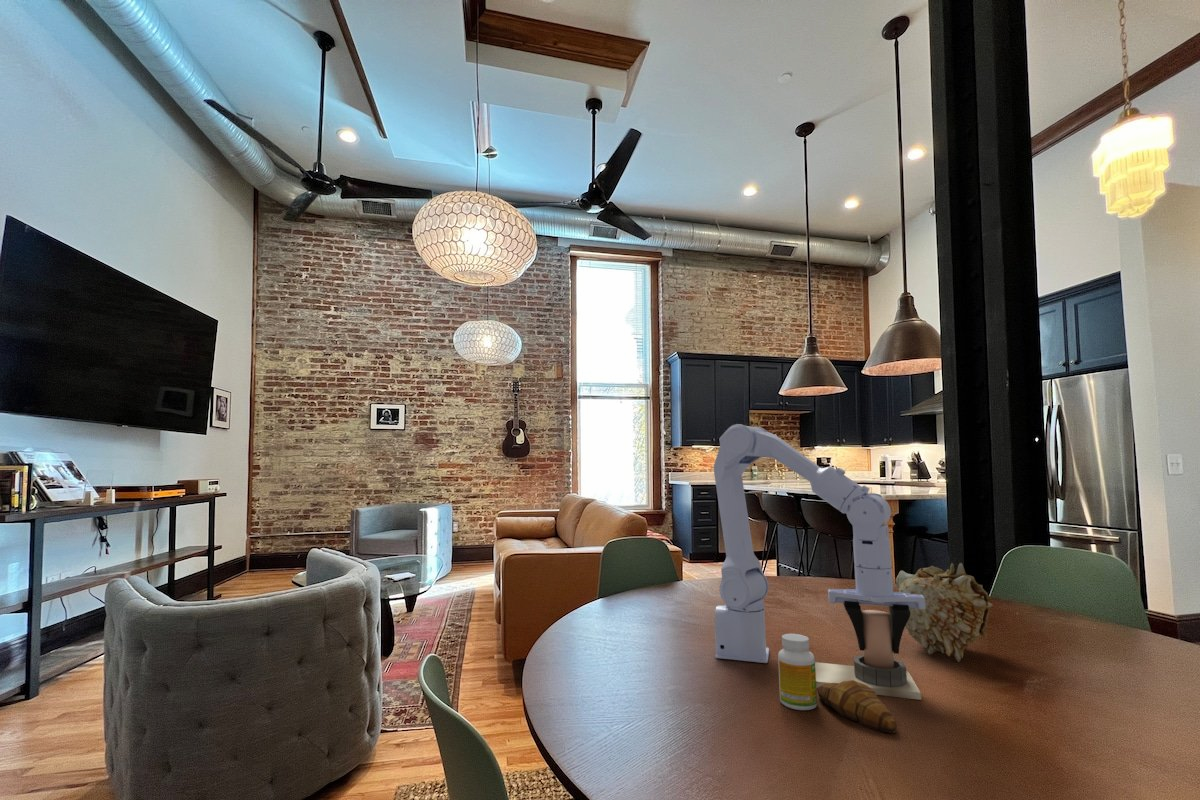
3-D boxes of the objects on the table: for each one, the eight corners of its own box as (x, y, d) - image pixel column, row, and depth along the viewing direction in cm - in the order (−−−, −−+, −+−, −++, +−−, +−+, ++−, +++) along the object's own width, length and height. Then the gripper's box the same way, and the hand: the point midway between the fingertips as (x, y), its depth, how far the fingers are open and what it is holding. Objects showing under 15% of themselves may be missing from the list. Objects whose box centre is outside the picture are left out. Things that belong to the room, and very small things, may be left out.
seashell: (982, 563, 99) (1006, 566, 108) (880, 556, 112) (909, 560, 122) (993, 671, 94) (1017, 665, 104) (885, 651, 108) (915, 647, 117)
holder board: (784, 684, 91) (783, 662, 92) (785, 664, 100) (784, 644, 101) (921, 699, 85) (919, 675, 85) (908, 677, 94) (907, 656, 94)
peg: (867, 672, 90) (863, 615, 91) (862, 664, 94) (859, 609, 95) (897, 675, 89) (893, 617, 90) (891, 666, 93) (887, 611, 94)
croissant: (913, 732, 75) (910, 694, 76) (876, 741, 73) (873, 701, 73) (838, 695, 88) (836, 662, 88) (804, 701, 85) (802, 667, 86)
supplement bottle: (820, 712, 81) (816, 643, 82) (782, 709, 82) (779, 641, 83) (814, 697, 86) (810, 632, 87) (778, 695, 87) (775, 631, 88)
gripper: (828, 568, 92) (833, 653, 90) (927, 572, 87) (933, 662, 86) (825, 561, 99) (830, 640, 97) (917, 565, 94) (923, 648, 92)
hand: (878, 650), depth 92 cm, fingers open, 4 cm apart
